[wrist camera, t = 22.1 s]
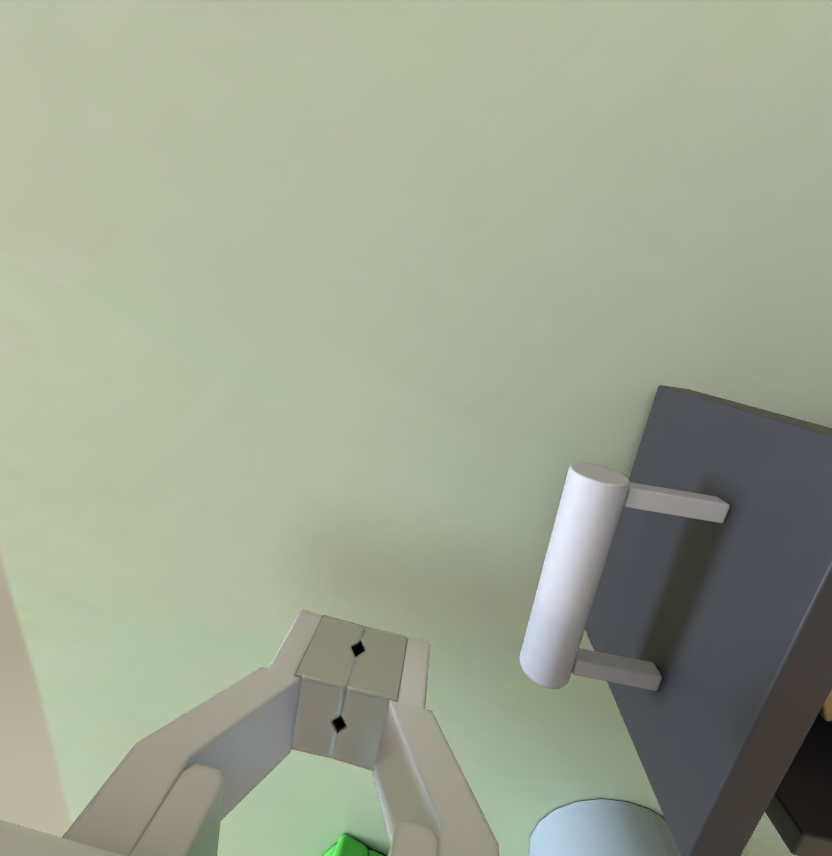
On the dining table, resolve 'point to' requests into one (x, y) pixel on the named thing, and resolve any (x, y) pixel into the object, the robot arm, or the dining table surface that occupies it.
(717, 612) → the drawer
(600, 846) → the spray bottle
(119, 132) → the dining table surface
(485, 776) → the dining table surface
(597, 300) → the dining table surface
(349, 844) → the fruit basket
